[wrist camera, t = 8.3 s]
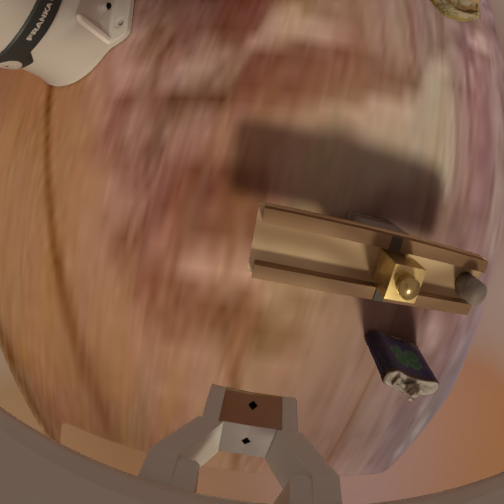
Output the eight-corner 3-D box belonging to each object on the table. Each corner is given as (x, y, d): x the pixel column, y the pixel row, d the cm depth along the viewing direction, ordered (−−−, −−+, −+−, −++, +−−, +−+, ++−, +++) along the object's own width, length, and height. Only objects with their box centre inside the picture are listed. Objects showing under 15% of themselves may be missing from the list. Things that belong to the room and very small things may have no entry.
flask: (419, 344, 37) (448, 392, 27) (408, 359, 38) (433, 409, 28) (370, 325, 36) (394, 378, 26) (359, 342, 37) (377, 397, 27)
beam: (263, 192, 32) (256, 210, 22) (450, 237, 32) (501, 268, 21) (254, 244, 34) (243, 285, 24) (435, 281, 34) (478, 323, 23)
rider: (380, 247, 25) (400, 268, 20) (408, 254, 25) (431, 275, 20) (370, 278, 26) (387, 304, 21) (398, 284, 26) (418, 309, 21)
